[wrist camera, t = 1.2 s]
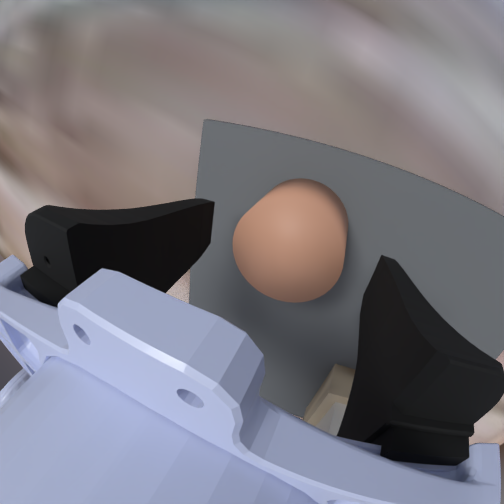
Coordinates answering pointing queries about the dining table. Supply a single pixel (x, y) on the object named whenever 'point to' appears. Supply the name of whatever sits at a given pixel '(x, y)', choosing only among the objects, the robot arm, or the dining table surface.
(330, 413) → the tower top
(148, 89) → the dining table surface
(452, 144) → the dining table surface
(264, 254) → the tan rounded lump
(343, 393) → the tower base
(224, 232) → the mat
